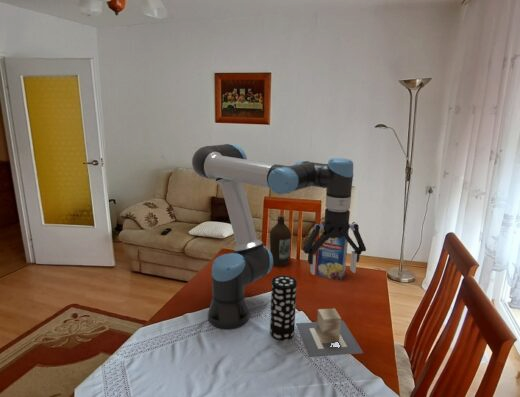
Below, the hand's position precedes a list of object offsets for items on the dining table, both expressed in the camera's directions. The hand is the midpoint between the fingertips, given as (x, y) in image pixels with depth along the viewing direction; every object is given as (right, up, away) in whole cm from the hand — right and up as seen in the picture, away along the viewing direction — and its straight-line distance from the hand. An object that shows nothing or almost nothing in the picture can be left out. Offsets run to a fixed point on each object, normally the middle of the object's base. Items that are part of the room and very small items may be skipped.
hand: (332, 271), depth 112 cm
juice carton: (+10, -13, +52) cm, 55 cm away
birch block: (-1, -23, +6) cm, 24 cm away
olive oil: (-14, -9, +64) cm, 66 cm away
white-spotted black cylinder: (-16, -23, +8) cm, 29 cm away
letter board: (-1, -24, +6) cm, 25 cm away
